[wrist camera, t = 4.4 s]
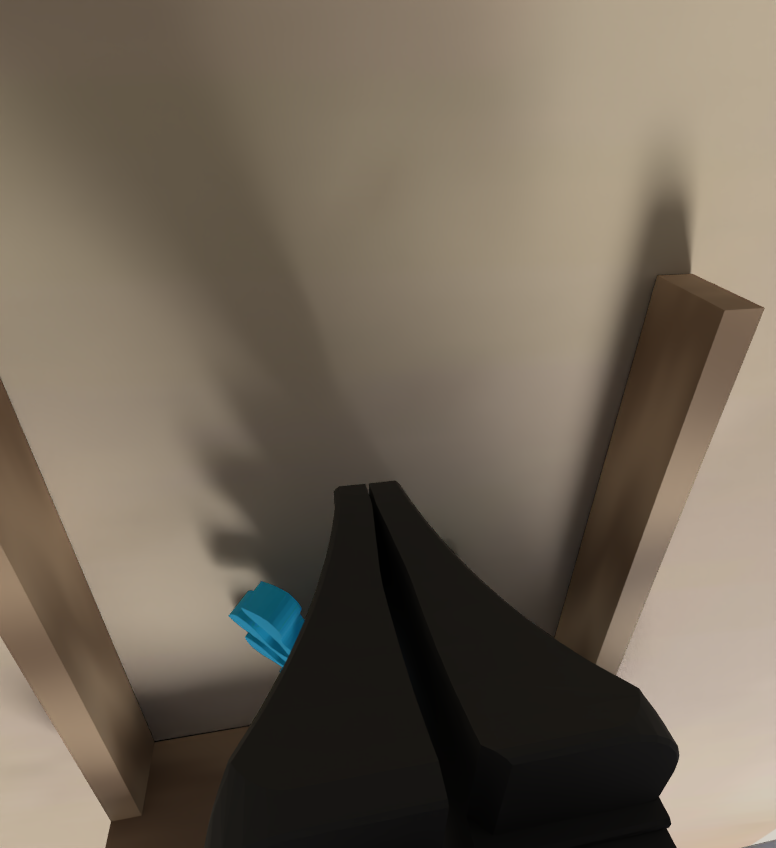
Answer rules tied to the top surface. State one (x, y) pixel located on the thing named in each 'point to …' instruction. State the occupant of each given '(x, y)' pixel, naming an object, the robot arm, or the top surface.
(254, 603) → the gear
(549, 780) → the robot arm
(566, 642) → the wooden u-shaped frame
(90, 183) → the top surface
